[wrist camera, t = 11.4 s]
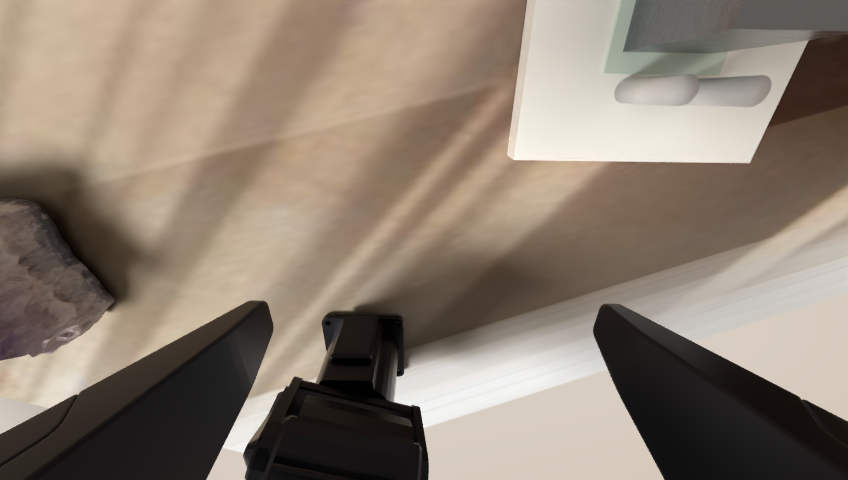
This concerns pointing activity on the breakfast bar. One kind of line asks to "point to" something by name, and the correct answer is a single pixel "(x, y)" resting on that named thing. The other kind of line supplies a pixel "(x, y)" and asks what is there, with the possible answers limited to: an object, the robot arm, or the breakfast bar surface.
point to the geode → (42, 284)
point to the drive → (731, 24)
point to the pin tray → (636, 92)
